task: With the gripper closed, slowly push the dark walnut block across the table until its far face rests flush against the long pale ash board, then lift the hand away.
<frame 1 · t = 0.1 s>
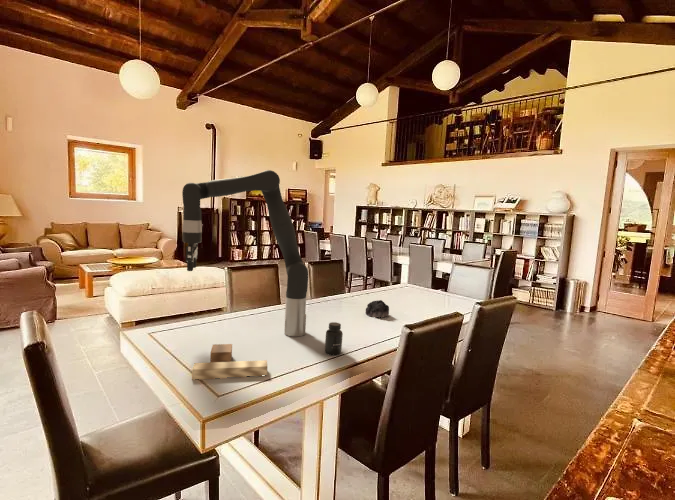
hand: (191, 269, 155), 29 cm above the table, tool pointing down, fingers open, 8 cm apart
supplement bottle: (333, 353, 148), on the table
black rock: (377, 315, 207), on the table
ash board: (230, 374, 124), on the table
walnut block: (221, 361, 134), on the table
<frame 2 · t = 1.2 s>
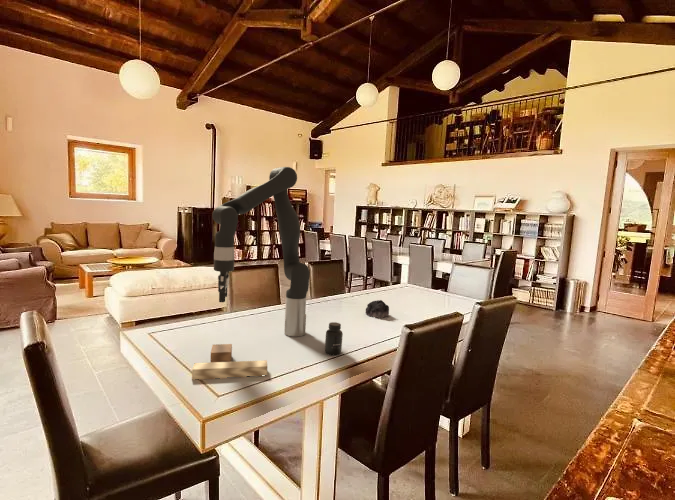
hand: (223, 299, 143), 20 cm above the table, tool pointing down, fingers open, 8 cm apart
nothing on the table moved.
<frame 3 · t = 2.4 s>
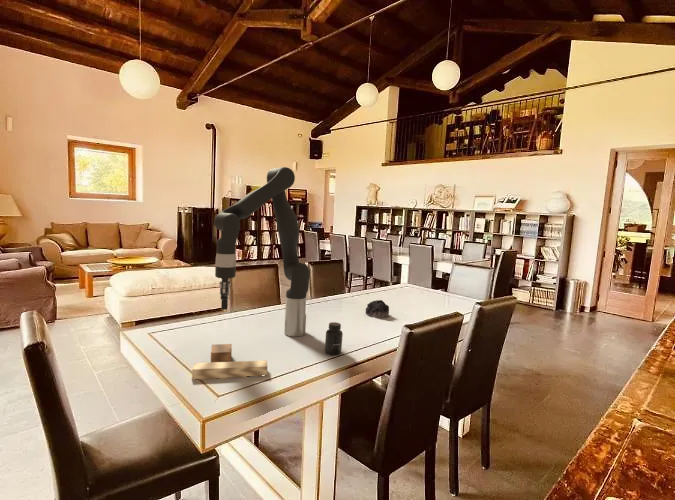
hand: (224, 308, 142), 17 cm above the table, tool pointing down, fingers closed
nothing on the table moved.
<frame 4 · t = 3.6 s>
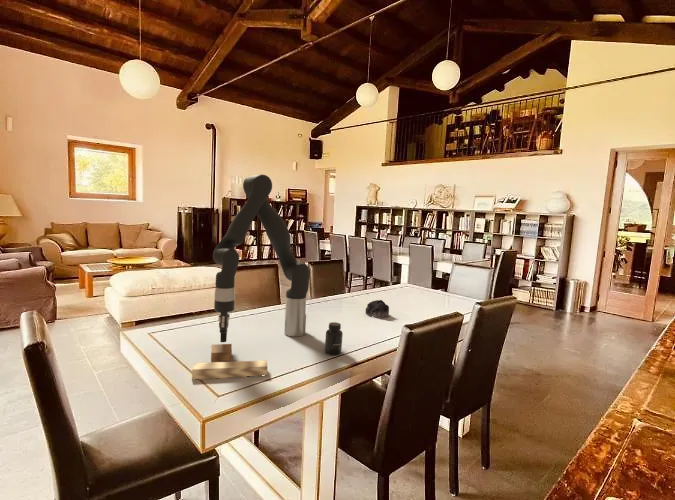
hand: (223, 341, 144), 4 cm above the table, tool pointing down, fingers closed
nothing on the table moved.
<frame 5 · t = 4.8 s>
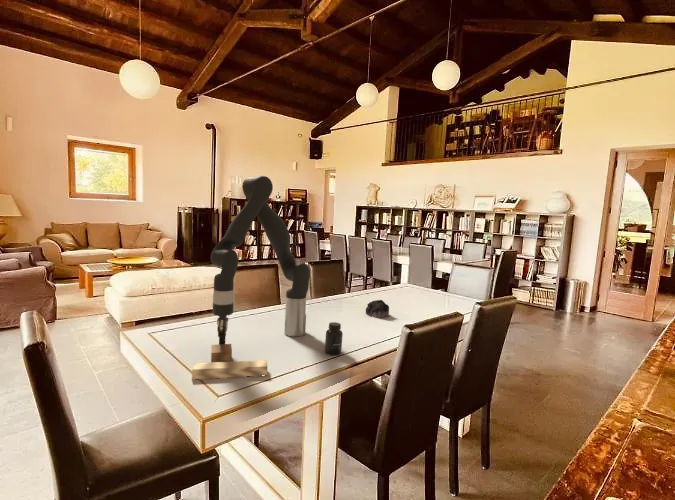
hand: (222, 345, 139), 4 cm above the table, tool pointing down, fingers closed
walnut block: (221, 361, 134), on the table, touching gripper
everything else where it was.
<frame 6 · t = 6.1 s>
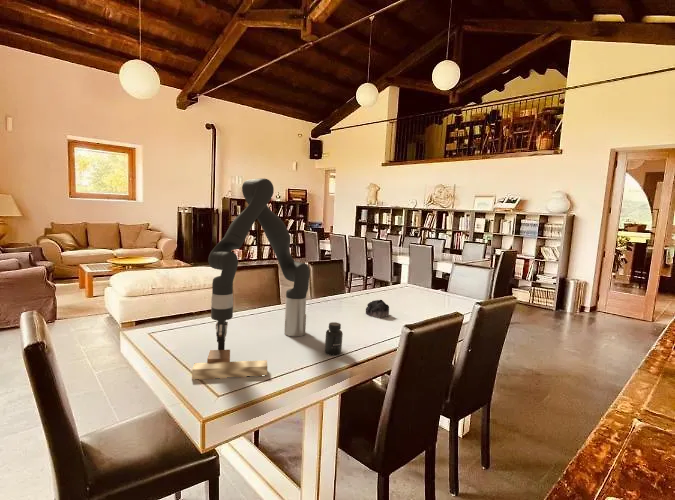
hand: (221, 351, 134), 4 cm above the table, tool pointing down, fingers closed
walnut block: (218, 367, 129), on the table, touching ash board, gripper
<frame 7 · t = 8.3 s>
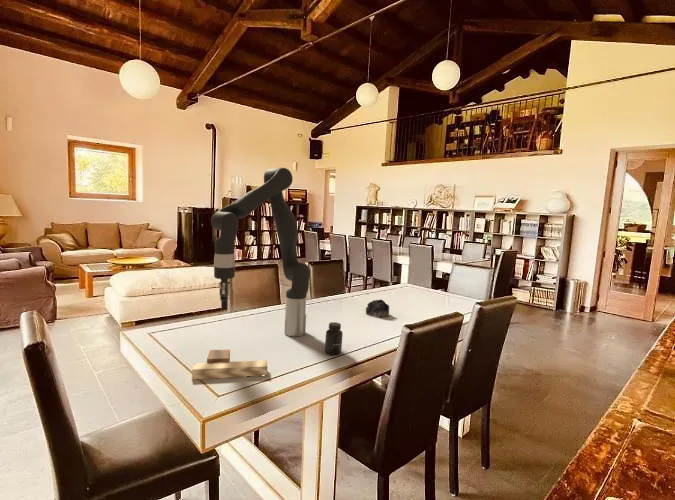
hand: (224, 309, 140), 17 cm above the table, tool pointing down, fingers closed
walnut block: (218, 367, 129), on the table
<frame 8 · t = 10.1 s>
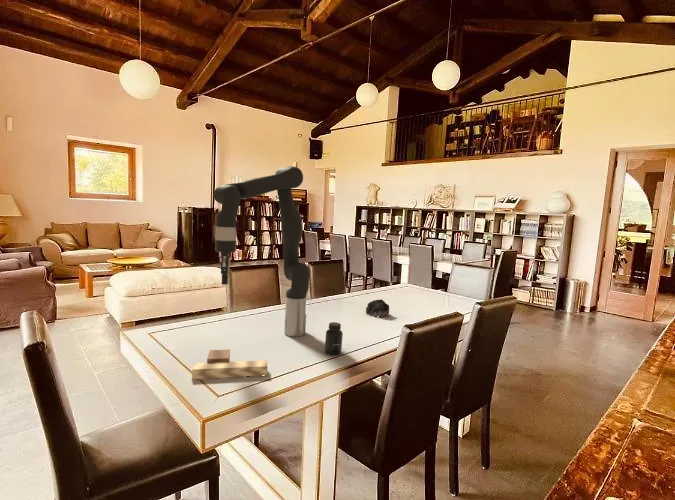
hand: (224, 284, 139), 27 cm above the table, tool pointing down, fingers closed
at the end: walnut block inside the target area on the table beside the ash board (4.5 cm from its centre), on the table; walnut block tilted 0° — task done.
